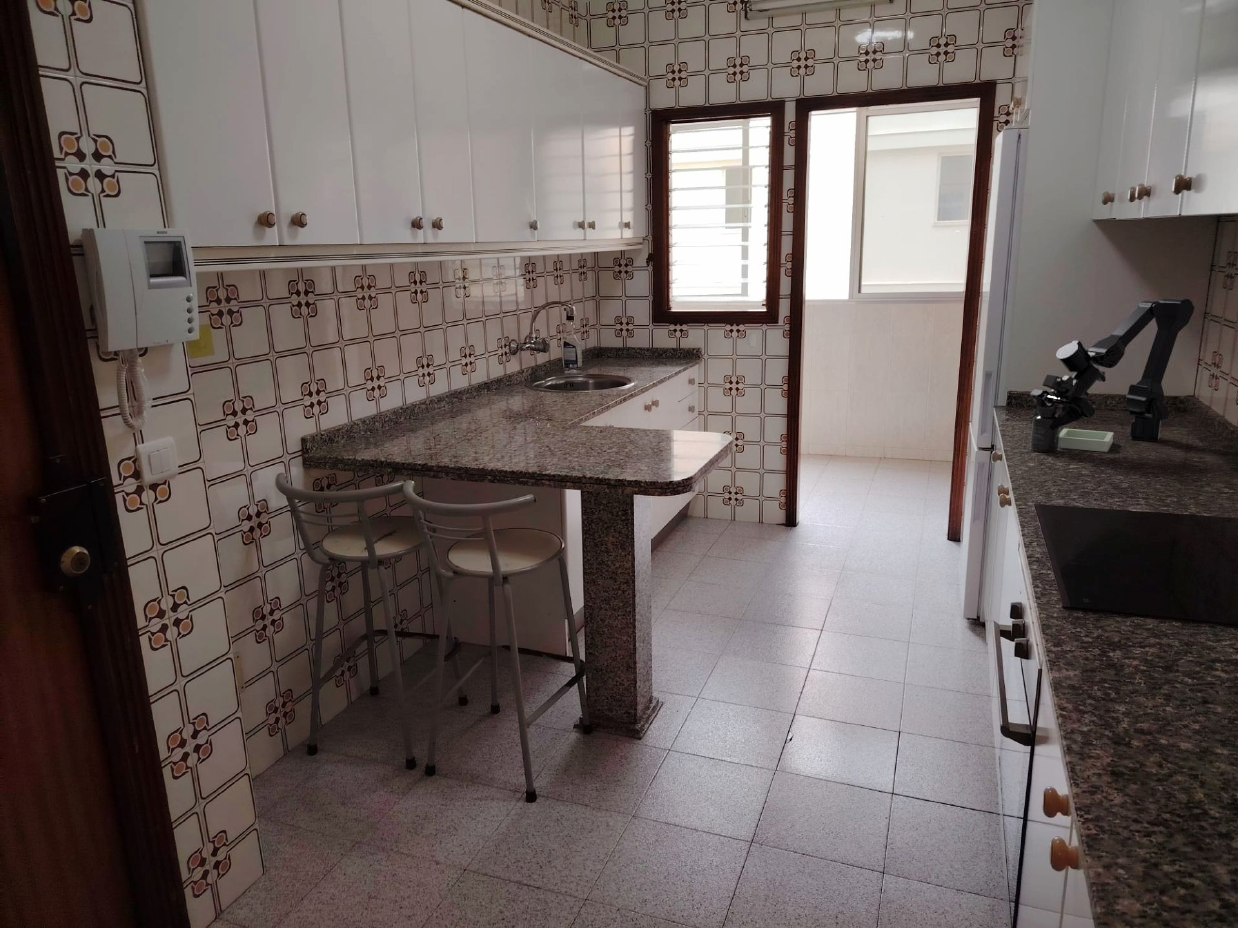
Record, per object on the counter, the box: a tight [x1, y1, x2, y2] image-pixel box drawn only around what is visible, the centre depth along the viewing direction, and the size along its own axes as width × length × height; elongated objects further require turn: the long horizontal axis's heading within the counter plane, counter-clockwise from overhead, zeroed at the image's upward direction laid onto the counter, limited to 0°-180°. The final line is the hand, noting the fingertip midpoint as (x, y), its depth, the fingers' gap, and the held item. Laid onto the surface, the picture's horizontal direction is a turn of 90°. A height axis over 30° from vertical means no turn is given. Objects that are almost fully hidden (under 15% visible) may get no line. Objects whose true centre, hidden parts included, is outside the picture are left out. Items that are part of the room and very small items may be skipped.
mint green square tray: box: [1058, 427, 1114, 453], centre depth 235 cm, size 12×12×3 cm
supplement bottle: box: [1029, 405, 1061, 453], centre depth 230 cm, size 7×7×12 cm
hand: (1041, 426), depth 230 cm, fingers closed on supplement bottle, 7 cm apart
